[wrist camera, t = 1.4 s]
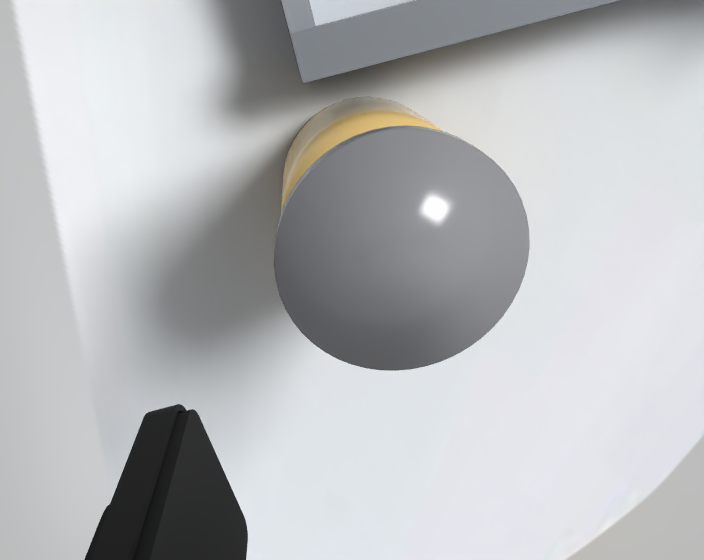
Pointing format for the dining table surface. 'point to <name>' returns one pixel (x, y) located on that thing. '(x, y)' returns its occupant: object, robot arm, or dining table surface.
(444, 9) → the grey open rectangular box
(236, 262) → the dining table surface
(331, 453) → the dining table surface
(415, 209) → the honey jar
